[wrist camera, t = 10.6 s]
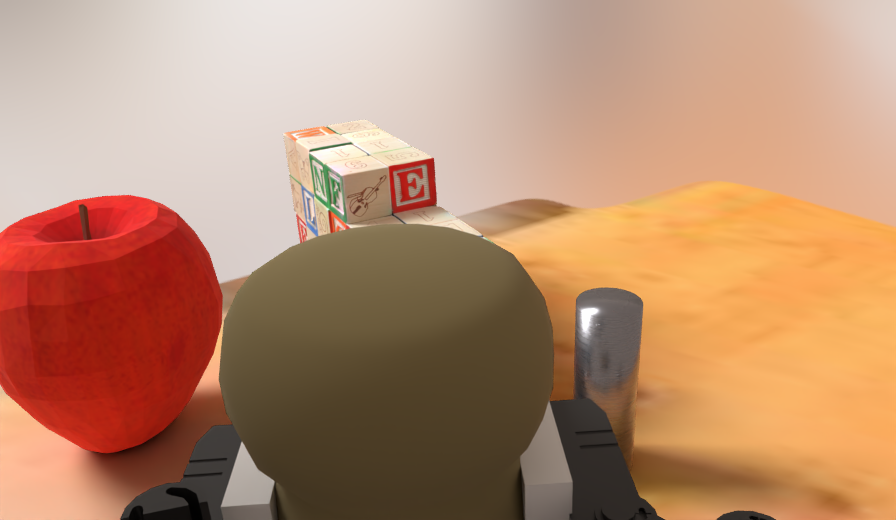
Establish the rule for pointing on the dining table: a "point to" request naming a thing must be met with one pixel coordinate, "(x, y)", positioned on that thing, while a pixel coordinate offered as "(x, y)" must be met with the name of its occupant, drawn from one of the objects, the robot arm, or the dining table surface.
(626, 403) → the spacer posts
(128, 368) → the apple
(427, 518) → the cork
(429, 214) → the stack of blocks
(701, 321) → the dining table surface
